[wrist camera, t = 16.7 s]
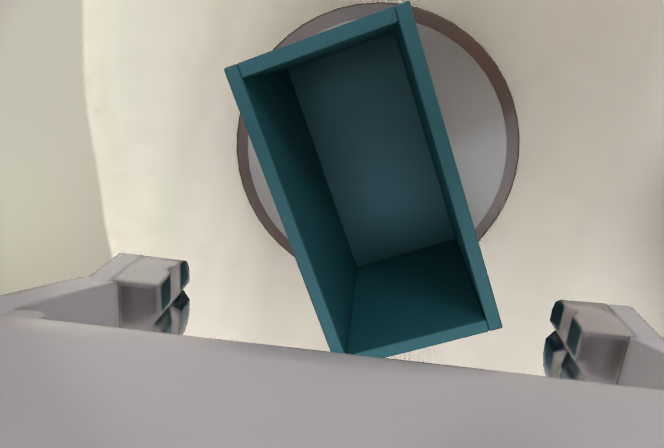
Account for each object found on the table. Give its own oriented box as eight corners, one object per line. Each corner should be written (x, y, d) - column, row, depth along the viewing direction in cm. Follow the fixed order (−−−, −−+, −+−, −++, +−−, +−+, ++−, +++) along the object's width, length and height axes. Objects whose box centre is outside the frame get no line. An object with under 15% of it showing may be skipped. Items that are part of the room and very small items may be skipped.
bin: (351, 273, 31) (337, 370, 22) (277, 63, 28) (223, 68, 19) (467, 240, 30) (505, 327, 21) (402, 17, 27) (412, -2, 18)
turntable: (351, -61, 28) (349, -67, 27) (575, 126, 30) (584, 130, 28) (191, 171, 32) (182, 176, 31) (394, 322, 34) (394, 334, 33)
